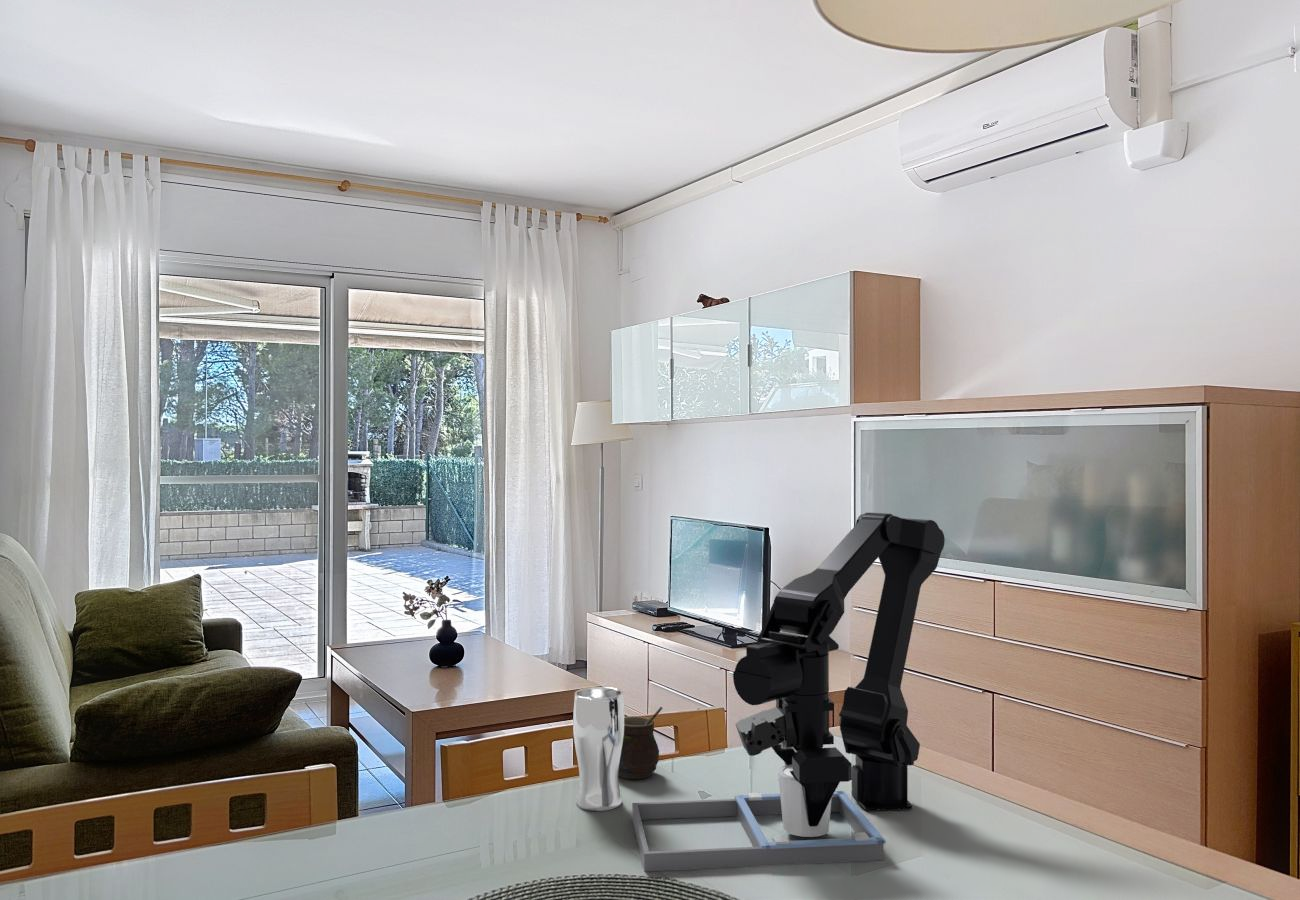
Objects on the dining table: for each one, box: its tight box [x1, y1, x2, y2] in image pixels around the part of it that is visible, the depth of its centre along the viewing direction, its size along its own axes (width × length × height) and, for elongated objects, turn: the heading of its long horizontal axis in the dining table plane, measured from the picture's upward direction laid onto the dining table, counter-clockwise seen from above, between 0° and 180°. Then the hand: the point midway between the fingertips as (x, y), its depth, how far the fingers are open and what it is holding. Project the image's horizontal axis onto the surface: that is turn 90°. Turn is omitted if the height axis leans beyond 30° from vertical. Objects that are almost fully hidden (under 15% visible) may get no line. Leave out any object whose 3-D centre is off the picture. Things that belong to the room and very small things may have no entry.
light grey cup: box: [777, 764, 832, 838], centre depth 122 cm, size 7×7×7 cm
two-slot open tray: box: [631, 790, 887, 872], centre depth 121 cm, size 28×16×3 cm, turn 96°
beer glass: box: [572, 686, 625, 812], centre depth 133 cm, size 7×7×15 cm
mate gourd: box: [618, 706, 663, 780], centre depth 144 cm, size 7×8×10 cm
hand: (805, 815), depth 122 cm, fingers closed on light grey cup, 6 cm apart
